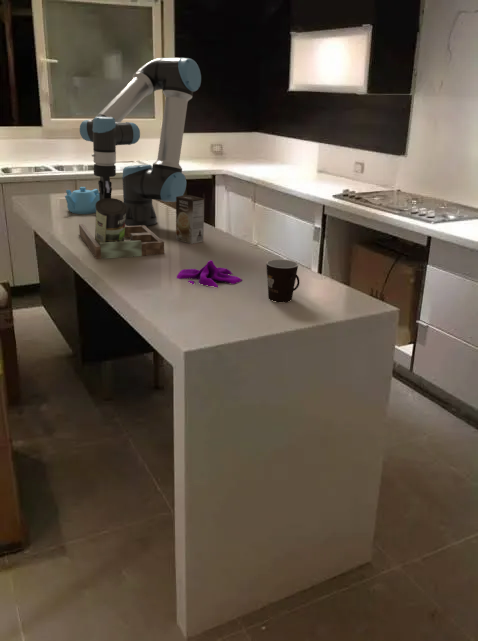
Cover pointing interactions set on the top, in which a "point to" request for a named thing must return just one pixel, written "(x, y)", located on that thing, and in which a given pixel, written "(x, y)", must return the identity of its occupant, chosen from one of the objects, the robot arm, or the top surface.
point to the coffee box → (189, 219)
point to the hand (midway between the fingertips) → (105, 231)
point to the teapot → (82, 200)
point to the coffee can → (110, 220)
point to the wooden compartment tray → (125, 243)
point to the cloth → (209, 275)
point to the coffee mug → (281, 279)
